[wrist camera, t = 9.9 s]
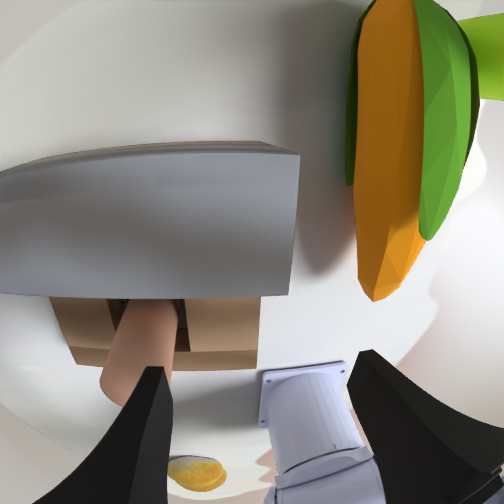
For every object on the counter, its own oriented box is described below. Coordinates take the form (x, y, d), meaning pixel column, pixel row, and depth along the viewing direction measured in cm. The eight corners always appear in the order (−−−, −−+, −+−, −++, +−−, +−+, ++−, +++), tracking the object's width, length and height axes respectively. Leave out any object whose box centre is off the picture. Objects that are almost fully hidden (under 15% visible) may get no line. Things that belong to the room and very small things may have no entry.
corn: (496, 7, 6) (451, 331, 14) (427, 27, 13) (399, 273, 21) (386, -56, 5) (348, 345, 13) (336, -4, 12) (314, 273, 20)
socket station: (252, 345, 22) (268, 431, 15) (85, 343, 20) (55, 419, 13) (260, 141, 16) (300, 155, 8) (42, 158, 14) (-42, 188, 7)
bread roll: (215, 451, 30) (217, 477, 26) (229, 472, 34) (232, 493, 30) (156, 454, 29) (154, 478, 26) (178, 475, 33) (178, 496, 30)
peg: (179, 325, 20) (170, 415, 13) (132, 319, 20) (106, 405, 12) (181, 283, 19) (167, 374, 12) (129, 277, 18) (93, 362, 11)
